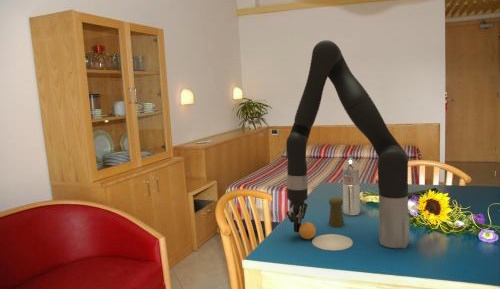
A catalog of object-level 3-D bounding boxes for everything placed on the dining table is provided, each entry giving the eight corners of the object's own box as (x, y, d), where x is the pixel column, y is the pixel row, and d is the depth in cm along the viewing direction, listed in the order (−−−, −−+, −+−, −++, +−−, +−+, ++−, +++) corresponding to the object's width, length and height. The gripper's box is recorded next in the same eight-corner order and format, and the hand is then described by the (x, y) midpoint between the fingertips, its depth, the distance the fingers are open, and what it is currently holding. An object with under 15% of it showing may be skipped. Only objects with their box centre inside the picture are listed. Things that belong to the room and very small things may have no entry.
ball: (304, 234, 151) (319, 235, 147) (297, 241, 146) (312, 242, 142) (302, 219, 150) (316, 219, 146) (294, 225, 145) (310, 226, 141)
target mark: (358, 238, 144) (358, 238, 144) (344, 253, 132) (344, 253, 132) (321, 232, 151) (321, 231, 151) (305, 246, 140) (305, 245, 140)
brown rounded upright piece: (344, 227, 155) (343, 200, 153) (328, 227, 156) (327, 200, 154) (344, 222, 161) (343, 195, 159) (328, 221, 162) (327, 195, 160)
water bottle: (363, 214, 168) (362, 155, 164) (349, 217, 166) (348, 157, 162) (353, 209, 175) (352, 153, 171) (340, 212, 172) (338, 155, 168)
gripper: (298, 192, 138) (298, 239, 141) (314, 183, 149) (314, 227, 152) (279, 189, 142) (279, 235, 145) (296, 180, 153) (296, 224, 156)
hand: (297, 231), depth 148 cm, fingers closed
